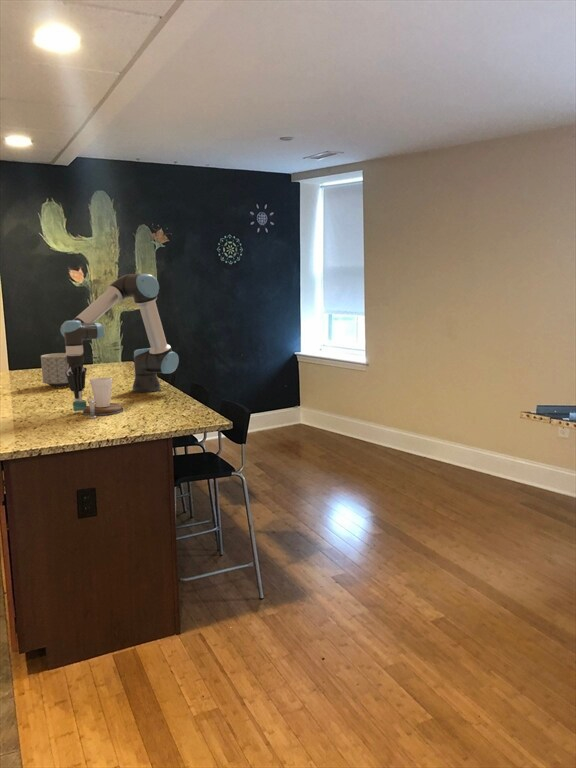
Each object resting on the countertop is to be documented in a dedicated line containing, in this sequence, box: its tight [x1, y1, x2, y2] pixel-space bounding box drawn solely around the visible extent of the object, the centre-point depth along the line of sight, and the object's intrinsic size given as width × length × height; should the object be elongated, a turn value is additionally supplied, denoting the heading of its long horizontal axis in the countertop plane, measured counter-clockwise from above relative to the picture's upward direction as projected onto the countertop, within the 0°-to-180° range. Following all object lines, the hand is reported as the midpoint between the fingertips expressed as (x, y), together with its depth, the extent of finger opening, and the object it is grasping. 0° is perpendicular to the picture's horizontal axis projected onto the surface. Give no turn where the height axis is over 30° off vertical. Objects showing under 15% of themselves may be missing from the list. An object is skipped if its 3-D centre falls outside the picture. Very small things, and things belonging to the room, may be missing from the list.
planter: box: [40, 352, 70, 388], centre depth 351 cm, size 19×19×18 cm
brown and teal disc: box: [72, 400, 123, 414], centre depth 281 cm, size 17×22×4 cm
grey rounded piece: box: [87, 396, 98, 419], centre depth 269 cm, size 4×4×9 cm
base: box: [82, 407, 124, 417], centre depth 282 cm, size 18×18×1 cm
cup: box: [89, 376, 113, 407], centre depth 280 cm, size 10×10×13 cm
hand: (79, 405), depth 282 cm, fingers closed
